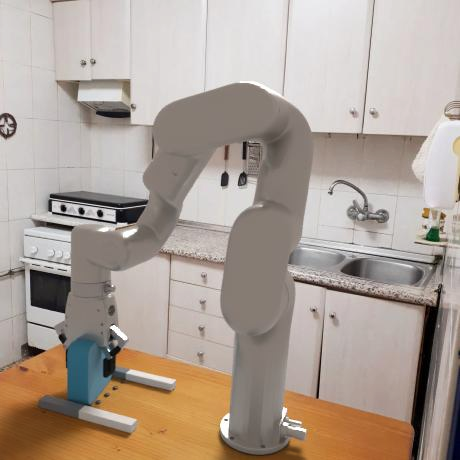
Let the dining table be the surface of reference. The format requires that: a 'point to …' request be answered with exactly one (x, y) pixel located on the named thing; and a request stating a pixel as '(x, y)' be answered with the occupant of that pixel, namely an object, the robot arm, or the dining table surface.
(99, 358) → the blue rounded box
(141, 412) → the dining table surface
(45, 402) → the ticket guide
